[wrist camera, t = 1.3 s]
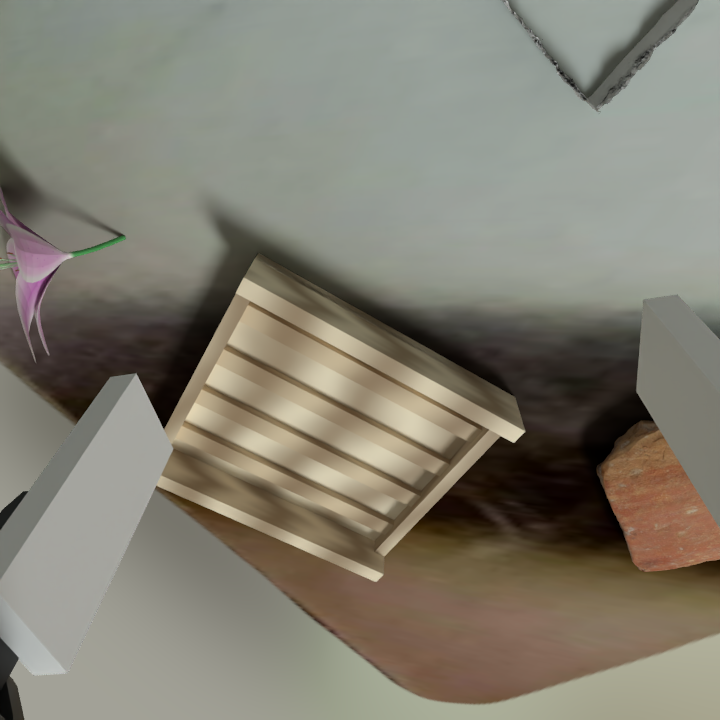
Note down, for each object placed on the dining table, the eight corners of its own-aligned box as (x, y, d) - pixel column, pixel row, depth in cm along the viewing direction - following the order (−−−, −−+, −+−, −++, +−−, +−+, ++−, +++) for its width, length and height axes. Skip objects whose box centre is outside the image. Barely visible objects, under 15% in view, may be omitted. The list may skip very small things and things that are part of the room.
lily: (46, 92, 34) (-136, 130, 27) (188, 218, 33) (32, 289, 26) (48, 236, 43) (-89, 291, 36) (160, 340, 41) (38, 415, 35)
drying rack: (157, 443, 46) (138, 477, 43) (258, 252, 37) (243, 277, 34) (377, 543, 51) (376, 582, 48) (515, 397, 42) (525, 431, 38)
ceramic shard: (817, 402, 35) (846, 521, 43) (744, 345, 40) (782, 461, 48) (598, 516, 38) (662, 607, 46) (557, 450, 43) (621, 541, 51)
